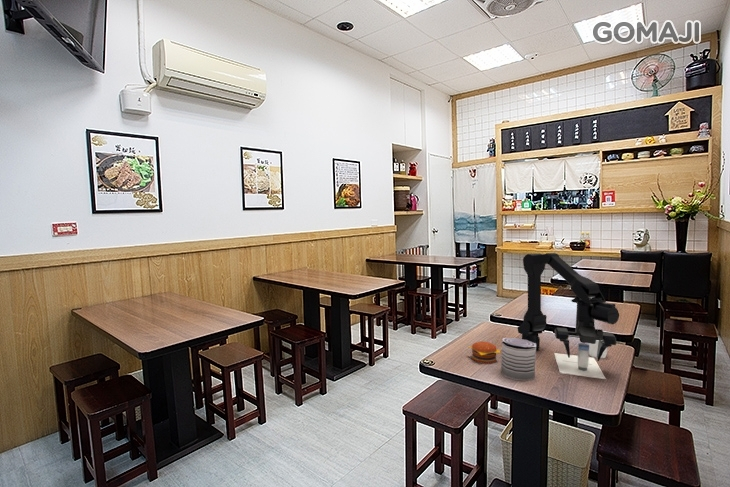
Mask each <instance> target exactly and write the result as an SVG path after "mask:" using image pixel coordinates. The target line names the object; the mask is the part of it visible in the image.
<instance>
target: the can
mask: <svg viewBox="0 0 730 487" xmlns="http://www.w3.org/2000/svg"><path fill="white" fill-rule="evenodd" d="M536 354H537V351H536V343H533V342H531V341H528V340H524V339H522V338H517V337H503V338H502V339H501V364H500V366H501V367H500V368H501V369H500V373H501V374H502V375H503V376H505V378H509V379H512V380H515V381H522V382H523V381H524V382H528V381H532V380H535V376H536Z"/></svg>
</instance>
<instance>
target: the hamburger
mask: <svg viewBox="0 0 730 487" xmlns="http://www.w3.org/2000/svg"><path fill="white" fill-rule="evenodd" d="M468 349H471V350H472V351H471V353H472V354H471V359H472V360H473V361H475V362H477V363H480V364H487V365H488V364H493V363H496V361H497V354H502V351H500V350H499V349H497V346H496V345H495V344H493V343H491V342H488V341H485V340H483V341H480V340H479V341H477V342H474V343H472V345H471V346H468Z"/></svg>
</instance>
